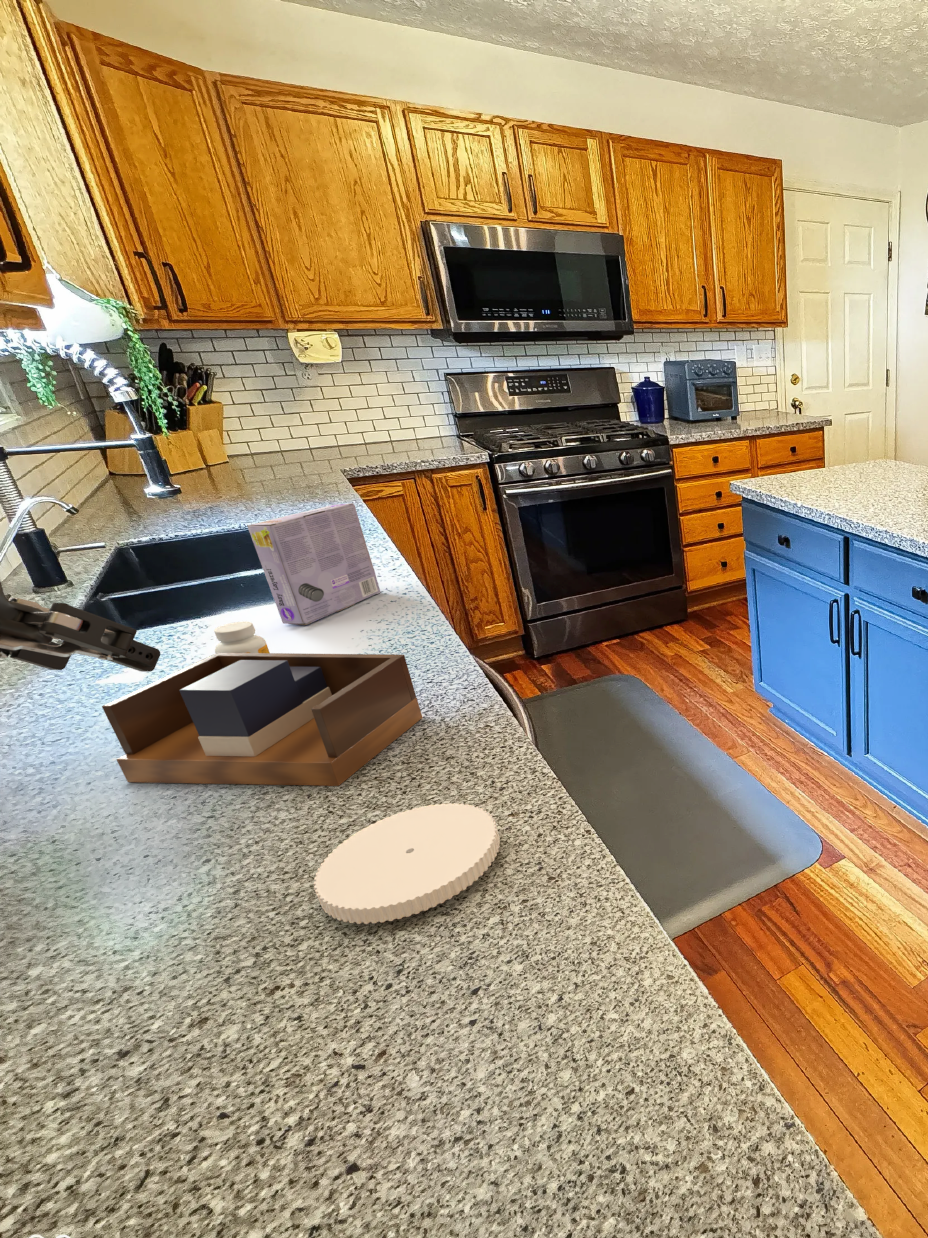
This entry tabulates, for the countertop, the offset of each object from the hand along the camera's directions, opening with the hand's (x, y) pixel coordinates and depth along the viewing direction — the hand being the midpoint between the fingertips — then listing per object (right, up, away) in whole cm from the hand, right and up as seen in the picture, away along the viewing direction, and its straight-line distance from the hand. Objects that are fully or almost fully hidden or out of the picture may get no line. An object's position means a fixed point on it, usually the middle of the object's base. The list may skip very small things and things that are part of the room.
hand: (109, 660), depth 64 cm
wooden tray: (+1, -11, +19) cm, 22 cm away
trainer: (+1, -8, +17) cm, 19 cm away
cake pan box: (-27, +8, +64) cm, 70 cm away
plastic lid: (+29, -19, -1) cm, 35 cm away
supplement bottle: (-15, -5, +33) cm, 37 cm away
